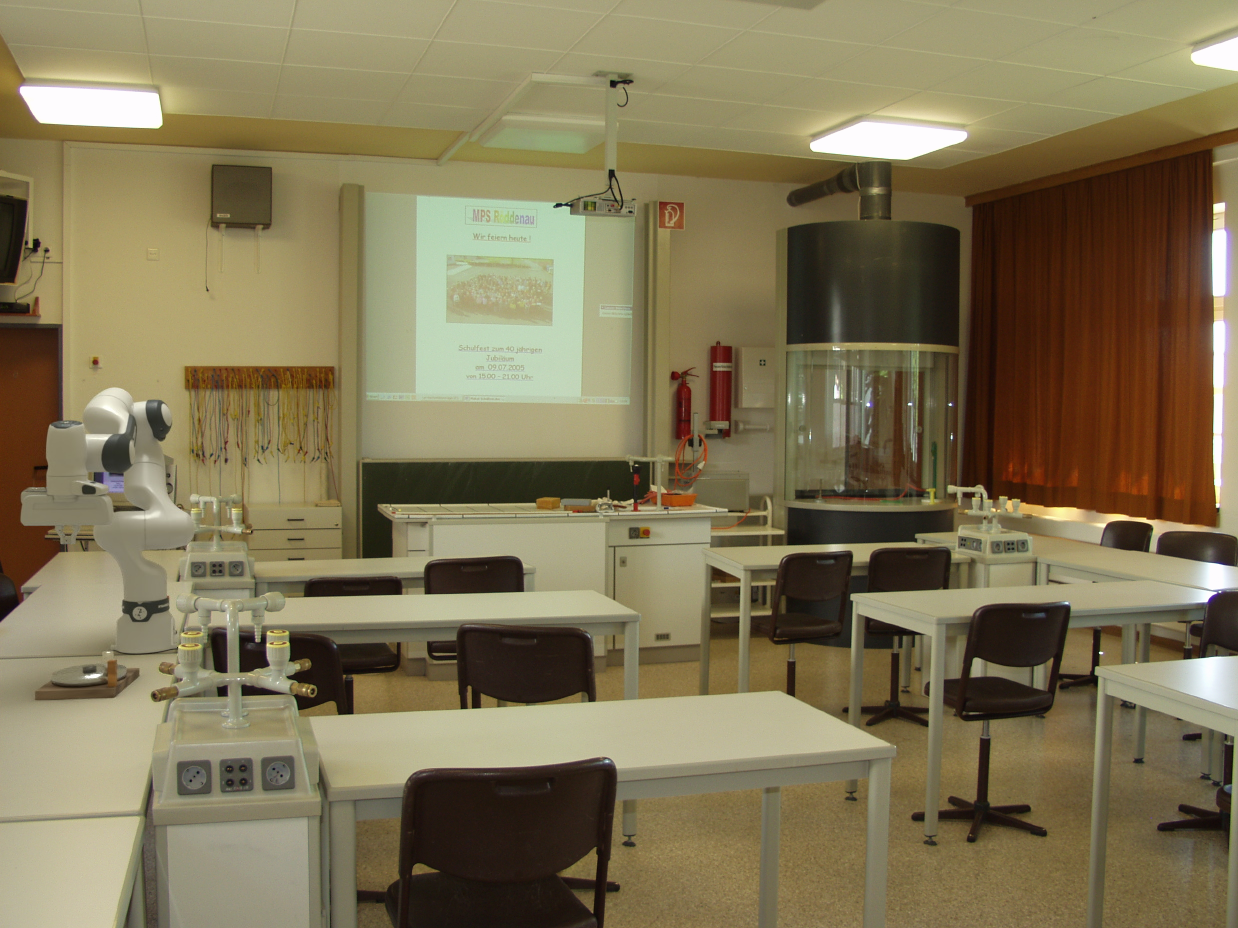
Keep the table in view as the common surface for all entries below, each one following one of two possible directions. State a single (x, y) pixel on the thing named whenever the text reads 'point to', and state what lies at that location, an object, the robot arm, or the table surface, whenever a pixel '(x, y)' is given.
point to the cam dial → (88, 673)
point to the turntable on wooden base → (90, 691)
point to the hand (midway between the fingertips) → (68, 543)
